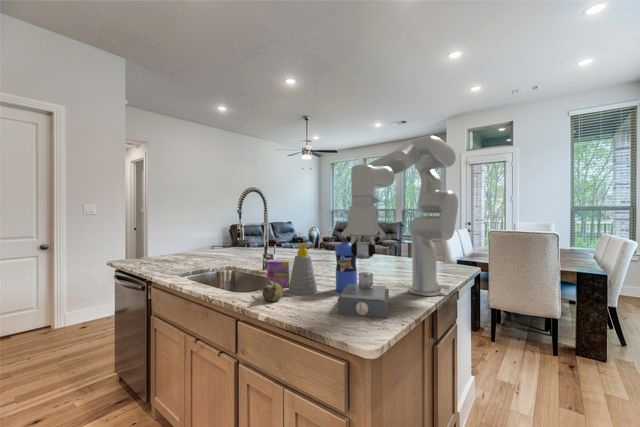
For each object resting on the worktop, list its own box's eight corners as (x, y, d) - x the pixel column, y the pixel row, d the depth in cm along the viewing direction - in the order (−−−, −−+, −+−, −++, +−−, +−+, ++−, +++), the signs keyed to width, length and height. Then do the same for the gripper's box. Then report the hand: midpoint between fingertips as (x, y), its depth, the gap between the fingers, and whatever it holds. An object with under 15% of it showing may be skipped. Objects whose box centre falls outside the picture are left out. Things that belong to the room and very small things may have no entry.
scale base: (388, 302, 106) (388, 289, 106) (387, 318, 90) (387, 302, 90) (345, 299, 110) (345, 286, 110) (337, 314, 94) (337, 299, 94)
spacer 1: (371, 256, 98) (371, 242, 98) (369, 259, 93) (369, 243, 93) (356, 256, 99) (356, 241, 99) (354, 258, 95) (354, 243, 95)
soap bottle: (313, 296, 116) (313, 245, 116) (284, 294, 118) (283, 244, 118) (320, 288, 128) (319, 242, 128) (293, 286, 130) (292, 241, 130)
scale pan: (385, 289, 105) (385, 286, 105) (384, 300, 92) (384, 297, 92) (348, 287, 109) (348, 284, 109) (341, 297, 95) (341, 294, 95)
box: (267, 287, 130) (266, 261, 130) (271, 284, 136) (271, 259, 136) (289, 288, 128) (288, 261, 128) (292, 284, 134) (292, 259, 134)
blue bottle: (356, 294, 117) (355, 233, 118) (333, 292, 120) (333, 232, 120) (358, 288, 127) (358, 231, 127) (337, 287, 129) (337, 231, 129)
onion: (286, 301, 109) (286, 280, 109) (266, 304, 105) (266, 282, 105) (279, 296, 115) (279, 276, 115) (260, 299, 112) (259, 278, 112)
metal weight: (373, 286, 105) (373, 272, 105) (372, 289, 101) (372, 275, 101) (359, 285, 107) (359, 271, 107) (358, 288, 102) (358, 274, 102)
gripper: (389, 202, 98) (389, 255, 98) (339, 202, 102) (340, 254, 102) (388, 201, 91) (388, 258, 91) (335, 202, 95) (335, 257, 95)
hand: (363, 255), depth 96 cm, fingers closed on spacer 1, 5 cm apart
